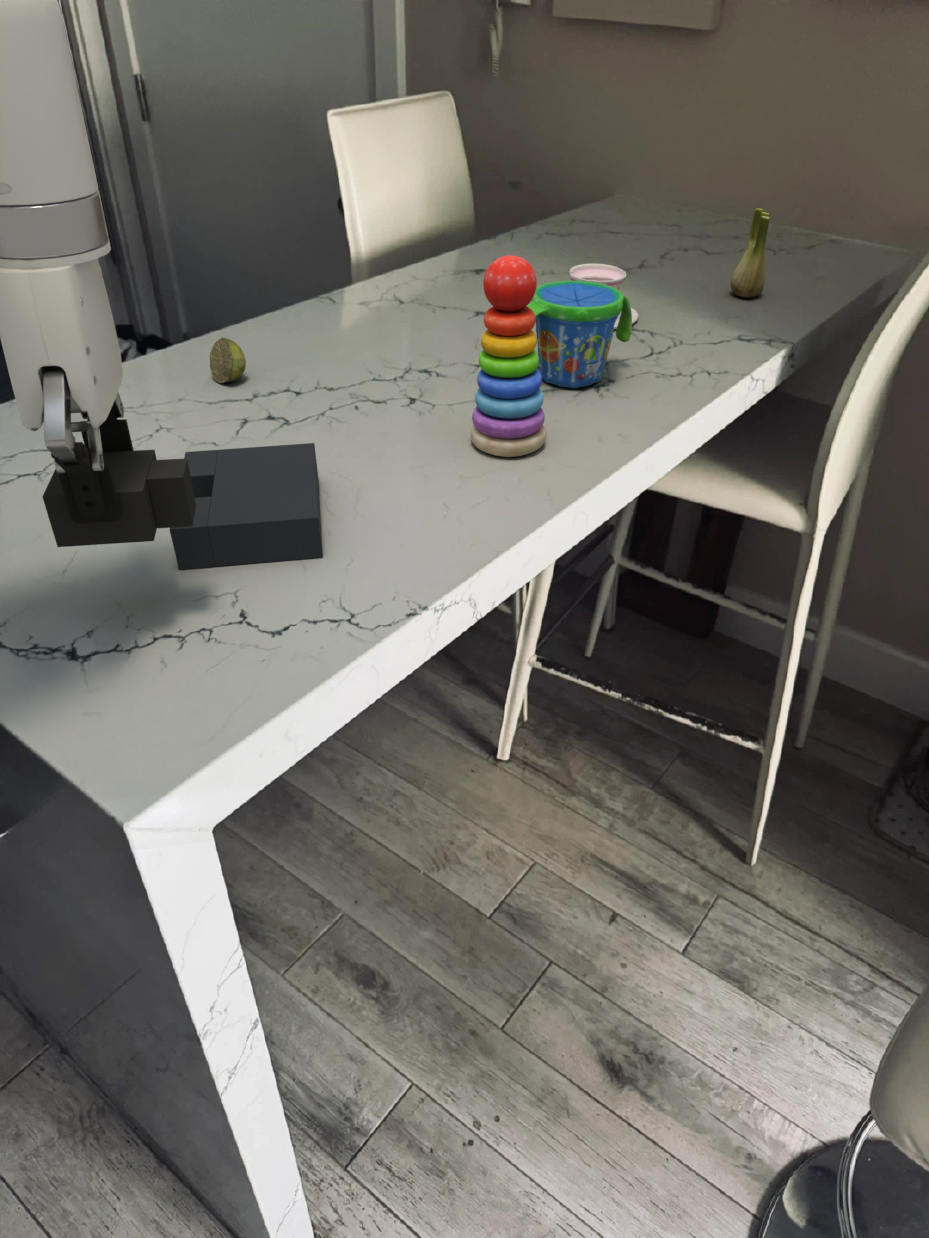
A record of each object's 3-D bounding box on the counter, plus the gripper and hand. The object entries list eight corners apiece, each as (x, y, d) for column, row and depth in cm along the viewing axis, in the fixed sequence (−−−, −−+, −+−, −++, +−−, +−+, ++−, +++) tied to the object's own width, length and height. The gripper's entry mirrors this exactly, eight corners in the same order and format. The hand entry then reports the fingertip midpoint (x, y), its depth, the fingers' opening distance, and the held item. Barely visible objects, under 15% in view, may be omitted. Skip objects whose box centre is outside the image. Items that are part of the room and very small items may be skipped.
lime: (240, 388, 103) (234, 347, 100) (202, 385, 104) (195, 344, 101) (255, 374, 107) (249, 334, 104) (218, 371, 108) (211, 331, 105)
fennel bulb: (755, 303, 128) (773, 216, 121) (723, 298, 130) (738, 212, 123) (766, 293, 132) (784, 208, 125) (734, 288, 134) (750, 203, 127)
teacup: (541, 307, 127) (544, 263, 123) (618, 301, 129) (623, 257, 126) (569, 335, 118) (572, 288, 114) (651, 328, 120) (657, 282, 116)
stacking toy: (554, 432, 94) (566, 250, 83) (534, 465, 88) (544, 273, 77) (484, 422, 96) (486, 243, 85) (460, 453, 90) (459, 265, 79)
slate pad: (178, 570, 73) (169, 529, 71) (193, 489, 84) (185, 451, 82) (322, 557, 75) (318, 517, 72) (318, 480, 86) (314, 442, 83)
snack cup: (604, 354, 112) (612, 272, 106) (649, 384, 105) (661, 297, 98) (494, 372, 107) (496, 288, 101) (533, 405, 100) (537, 316, 94)
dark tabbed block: (57, 547, 61) (41, 496, 58) (75, 502, 66) (62, 453, 63) (190, 539, 62) (180, 488, 60) (198, 495, 67) (189, 447, 65)
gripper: (9, 198, 58) (75, 445, 69) (-78, 268, 44) (21, 564, 55) (126, 196, 59) (173, 440, 70) (77, 265, 45) (145, 556, 56)
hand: (106, 493), depth 62 cm, fingers closed on dark tabbed block, 6 cm apart
